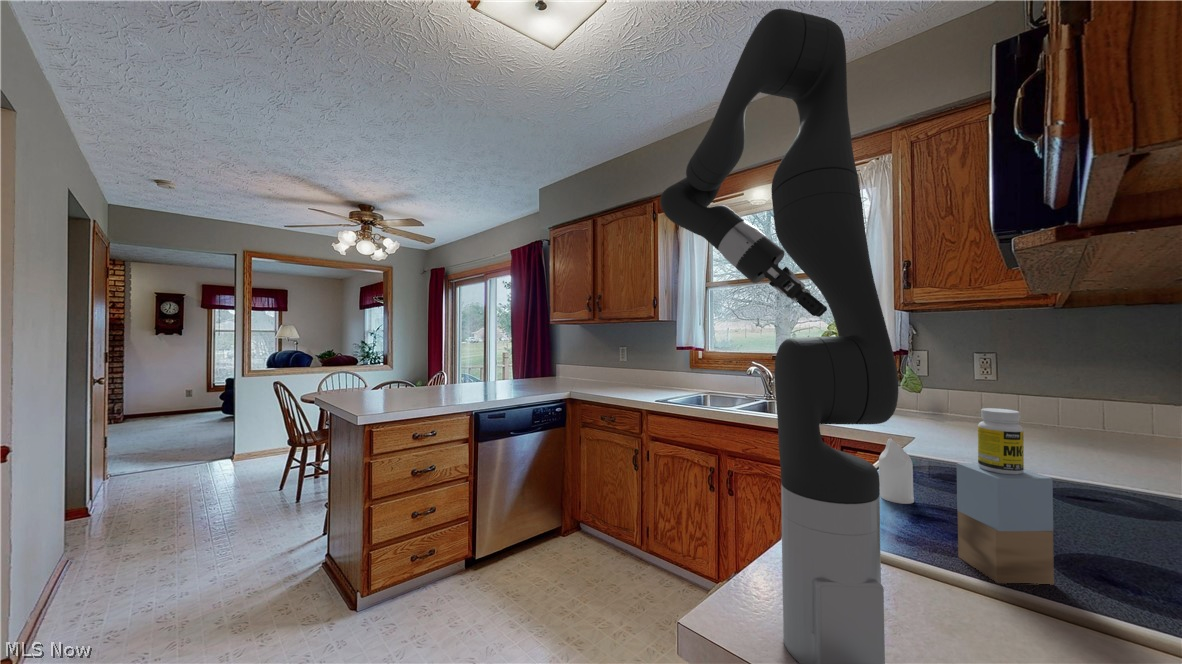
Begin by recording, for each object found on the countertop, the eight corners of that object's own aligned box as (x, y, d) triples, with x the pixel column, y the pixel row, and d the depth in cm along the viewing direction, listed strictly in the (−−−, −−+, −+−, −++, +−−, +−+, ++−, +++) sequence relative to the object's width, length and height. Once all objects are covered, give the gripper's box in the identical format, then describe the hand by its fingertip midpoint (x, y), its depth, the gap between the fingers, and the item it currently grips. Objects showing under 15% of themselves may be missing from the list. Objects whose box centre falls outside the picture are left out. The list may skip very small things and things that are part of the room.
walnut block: (1053, 585, 59) (1053, 531, 59) (996, 583, 60) (995, 530, 60) (1009, 558, 66) (1008, 510, 66) (958, 556, 66) (957, 509, 66)
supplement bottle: (1007, 476, 60) (1006, 414, 60) (969, 466, 64) (968, 408, 64) (1033, 473, 61) (1032, 412, 61) (994, 463, 66) (993, 406, 66)
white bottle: (920, 441, 87) (896, 443, 86) (921, 502, 87) (897, 505, 86) (892, 434, 93) (870, 436, 92) (893, 492, 93) (871, 494, 92)
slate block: (1053, 531, 59) (1052, 478, 59) (998, 531, 59) (997, 478, 59) (1005, 510, 66) (1005, 462, 66) (957, 510, 66) (956, 463, 66)
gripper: (758, 228, 74) (838, 294, 68) (771, 241, 86) (840, 298, 80) (725, 263, 76) (800, 329, 71) (743, 271, 89) (808, 328, 83)
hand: (821, 312), depth 75 cm, fingers open, 8 cm apart
